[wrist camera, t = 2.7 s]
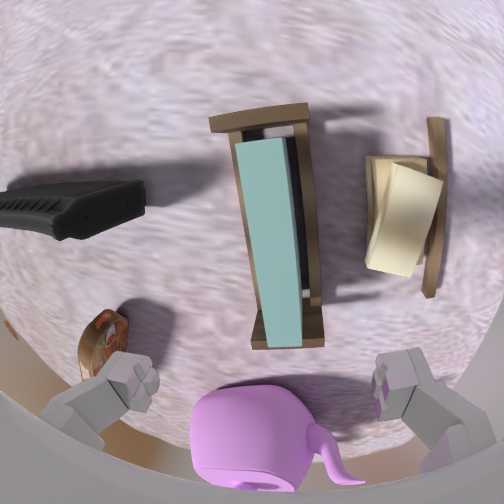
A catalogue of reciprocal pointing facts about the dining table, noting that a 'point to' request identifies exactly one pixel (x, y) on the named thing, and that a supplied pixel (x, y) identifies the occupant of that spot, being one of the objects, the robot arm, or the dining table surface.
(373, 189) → the offcut middle
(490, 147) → the dining table surface
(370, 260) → the offcut top
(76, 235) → the magazine
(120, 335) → the tin
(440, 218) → the rack
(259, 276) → the board
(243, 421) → the teapot
